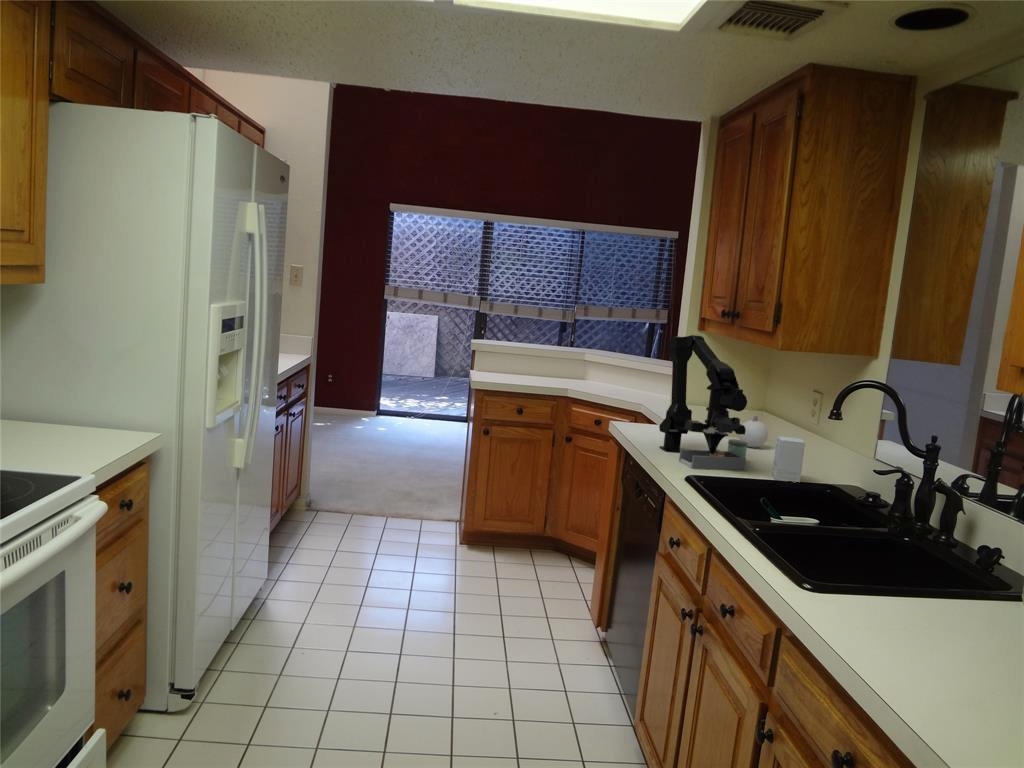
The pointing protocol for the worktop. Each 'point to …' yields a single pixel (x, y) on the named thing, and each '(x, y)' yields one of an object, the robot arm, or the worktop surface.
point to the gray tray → (711, 460)
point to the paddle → (717, 453)
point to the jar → (737, 447)
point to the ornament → (754, 433)
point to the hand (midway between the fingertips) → (711, 453)
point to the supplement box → (788, 459)
